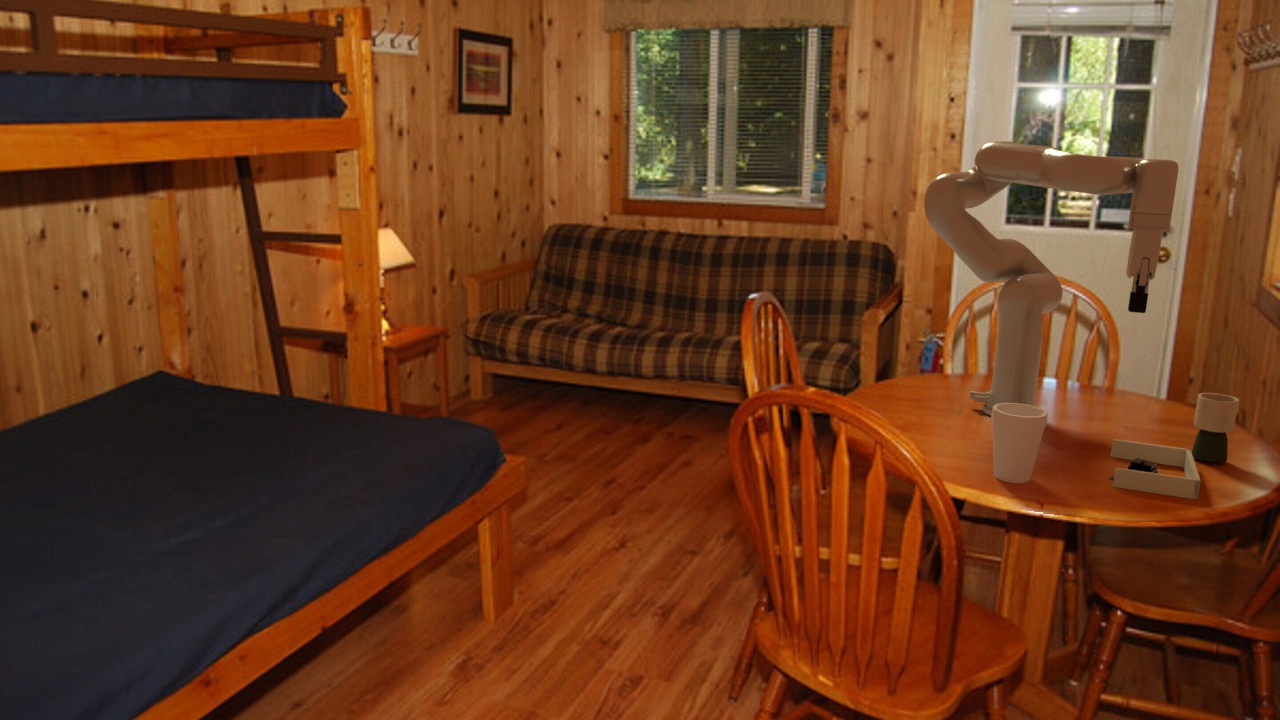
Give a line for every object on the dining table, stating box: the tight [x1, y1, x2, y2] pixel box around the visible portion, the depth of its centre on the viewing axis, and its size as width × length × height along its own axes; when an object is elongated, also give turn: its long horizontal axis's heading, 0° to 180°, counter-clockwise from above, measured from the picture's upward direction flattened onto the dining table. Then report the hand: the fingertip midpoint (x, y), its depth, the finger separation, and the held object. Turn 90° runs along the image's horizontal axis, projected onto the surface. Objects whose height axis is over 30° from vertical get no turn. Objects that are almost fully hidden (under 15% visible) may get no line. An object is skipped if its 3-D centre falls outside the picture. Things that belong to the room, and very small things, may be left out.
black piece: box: [1108, 458, 1159, 482], centre depth 183 cm, size 12×7×5 cm, turn 45°
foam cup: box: [990, 403, 1049, 484], centre depth 183 cm, size 10×9×13 cm
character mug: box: [1191, 392, 1240, 464], centre depth 195 cm, size 11×7×13 cm, turn 179°
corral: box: [1110, 438, 1202, 500], centre depth 186 cm, size 14×20×4 cm
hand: (1136, 311), depth 204 cm, fingers closed
